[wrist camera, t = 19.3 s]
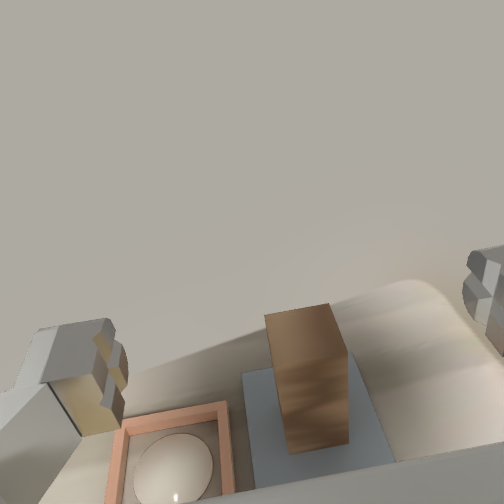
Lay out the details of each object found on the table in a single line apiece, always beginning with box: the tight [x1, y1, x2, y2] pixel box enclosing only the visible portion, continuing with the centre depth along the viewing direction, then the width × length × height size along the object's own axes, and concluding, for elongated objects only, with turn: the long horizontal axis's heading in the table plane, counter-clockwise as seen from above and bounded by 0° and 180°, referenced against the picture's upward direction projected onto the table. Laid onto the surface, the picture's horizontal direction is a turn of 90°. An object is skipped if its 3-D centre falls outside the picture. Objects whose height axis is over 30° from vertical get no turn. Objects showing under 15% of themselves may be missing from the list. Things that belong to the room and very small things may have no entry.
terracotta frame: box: [104, 400, 236, 504], centre depth 33 cm, size 9×9×1 cm
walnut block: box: [265, 303, 349, 455], centre depth 32 cm, size 4×4×10 cm
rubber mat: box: [241, 353, 396, 489], centre depth 35 cm, size 10×12×1 cm
